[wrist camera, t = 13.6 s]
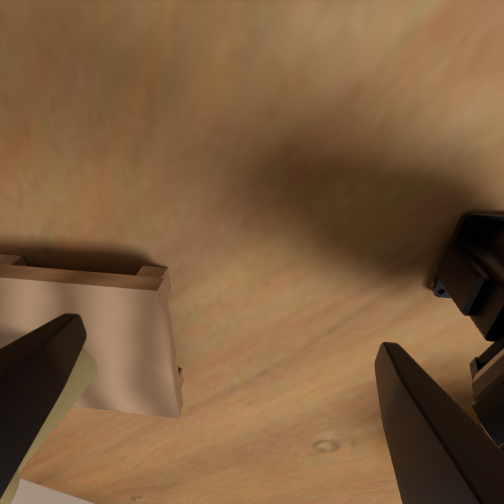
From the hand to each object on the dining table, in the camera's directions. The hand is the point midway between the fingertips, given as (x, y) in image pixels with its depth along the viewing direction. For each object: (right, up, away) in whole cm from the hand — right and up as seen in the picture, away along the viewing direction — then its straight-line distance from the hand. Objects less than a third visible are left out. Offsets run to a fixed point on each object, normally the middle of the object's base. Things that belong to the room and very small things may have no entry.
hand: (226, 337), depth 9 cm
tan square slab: (-13, -4, +19) cm, 24 cm away
